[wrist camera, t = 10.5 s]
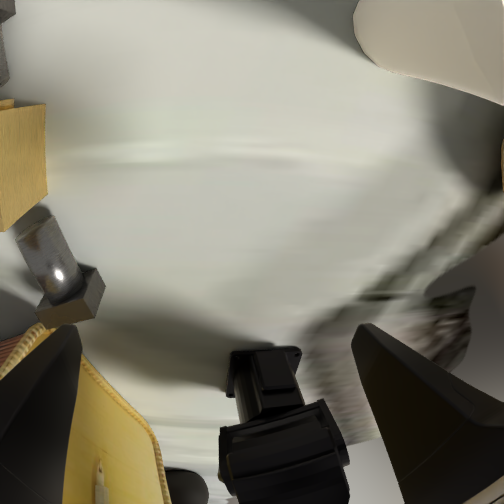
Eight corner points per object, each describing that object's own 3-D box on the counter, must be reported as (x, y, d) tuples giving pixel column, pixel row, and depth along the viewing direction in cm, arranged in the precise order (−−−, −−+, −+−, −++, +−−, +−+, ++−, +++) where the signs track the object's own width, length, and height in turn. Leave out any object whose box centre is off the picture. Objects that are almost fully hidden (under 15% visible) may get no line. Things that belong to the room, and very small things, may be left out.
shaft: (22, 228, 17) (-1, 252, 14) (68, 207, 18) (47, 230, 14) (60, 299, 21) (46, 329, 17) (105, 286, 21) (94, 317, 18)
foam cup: (305, -10, 14) (445, -95, 2) (404, -33, 13) (540, -65, 1) (371, 113, 18) (538, 164, 7) (453, 73, 17) (594, 102, 6)
